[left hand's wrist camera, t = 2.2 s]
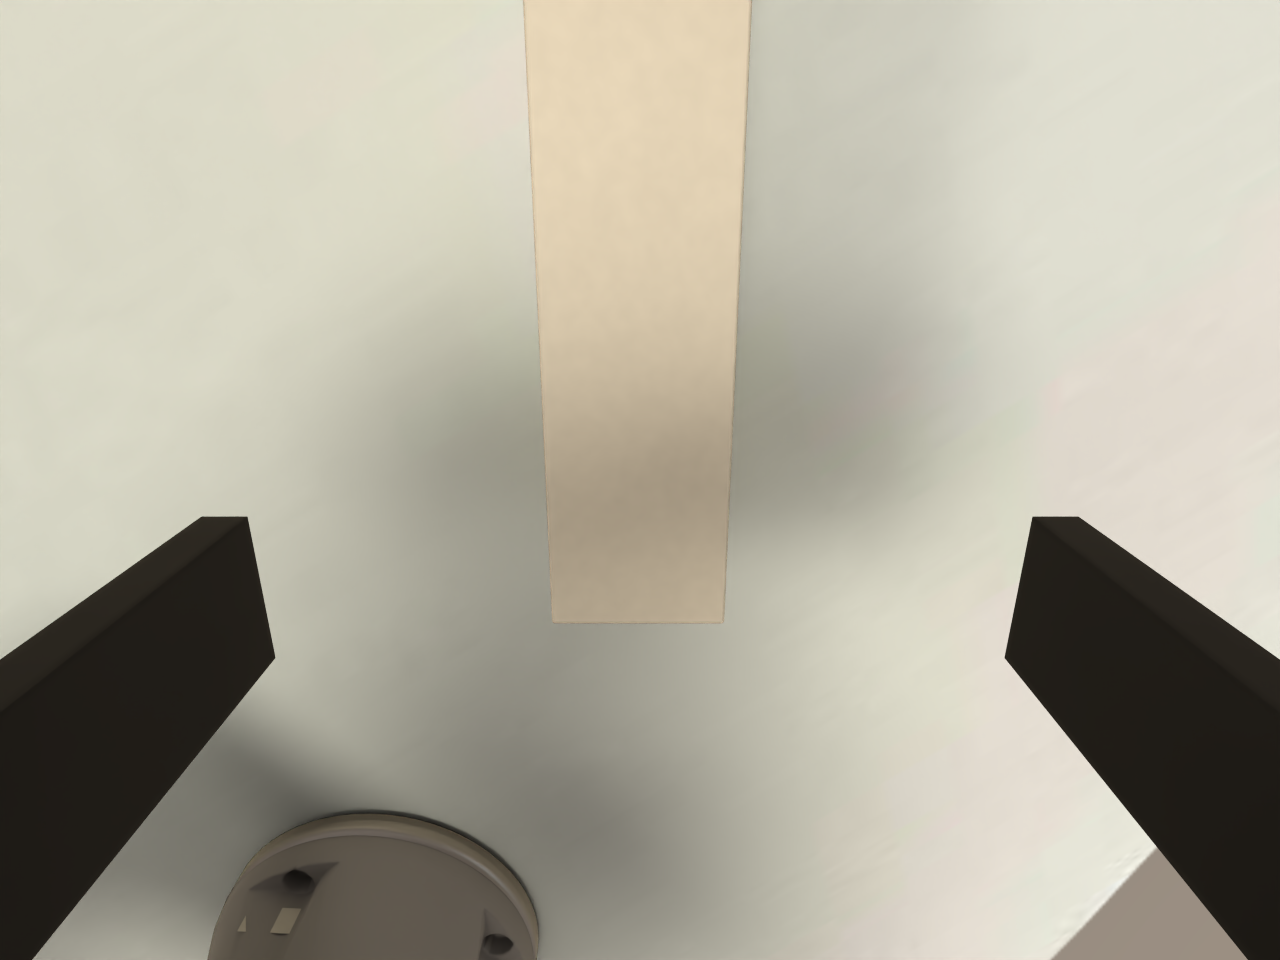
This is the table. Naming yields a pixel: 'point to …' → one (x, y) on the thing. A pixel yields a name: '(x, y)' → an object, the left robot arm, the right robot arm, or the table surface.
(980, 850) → the table surface
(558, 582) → the bar
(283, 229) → the table surface
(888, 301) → the table surface
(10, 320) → the table surface
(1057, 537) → the left robot arm
